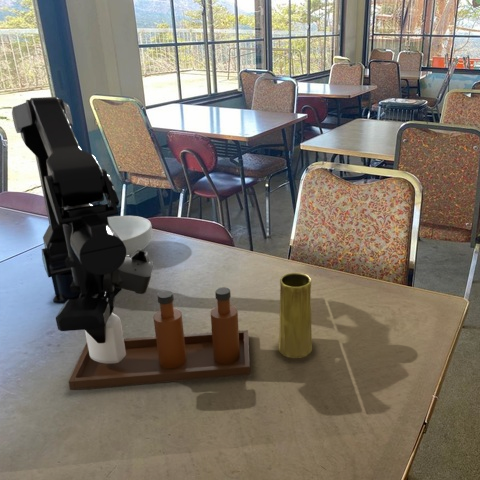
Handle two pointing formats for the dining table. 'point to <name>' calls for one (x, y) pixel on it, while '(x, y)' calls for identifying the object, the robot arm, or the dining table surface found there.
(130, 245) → the cereal bowl
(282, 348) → the vase
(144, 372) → the tray
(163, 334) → the amber bottle
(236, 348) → the amber bottle
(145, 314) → the dining table surface
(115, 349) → the eye dropper bottle
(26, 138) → the robot arm
